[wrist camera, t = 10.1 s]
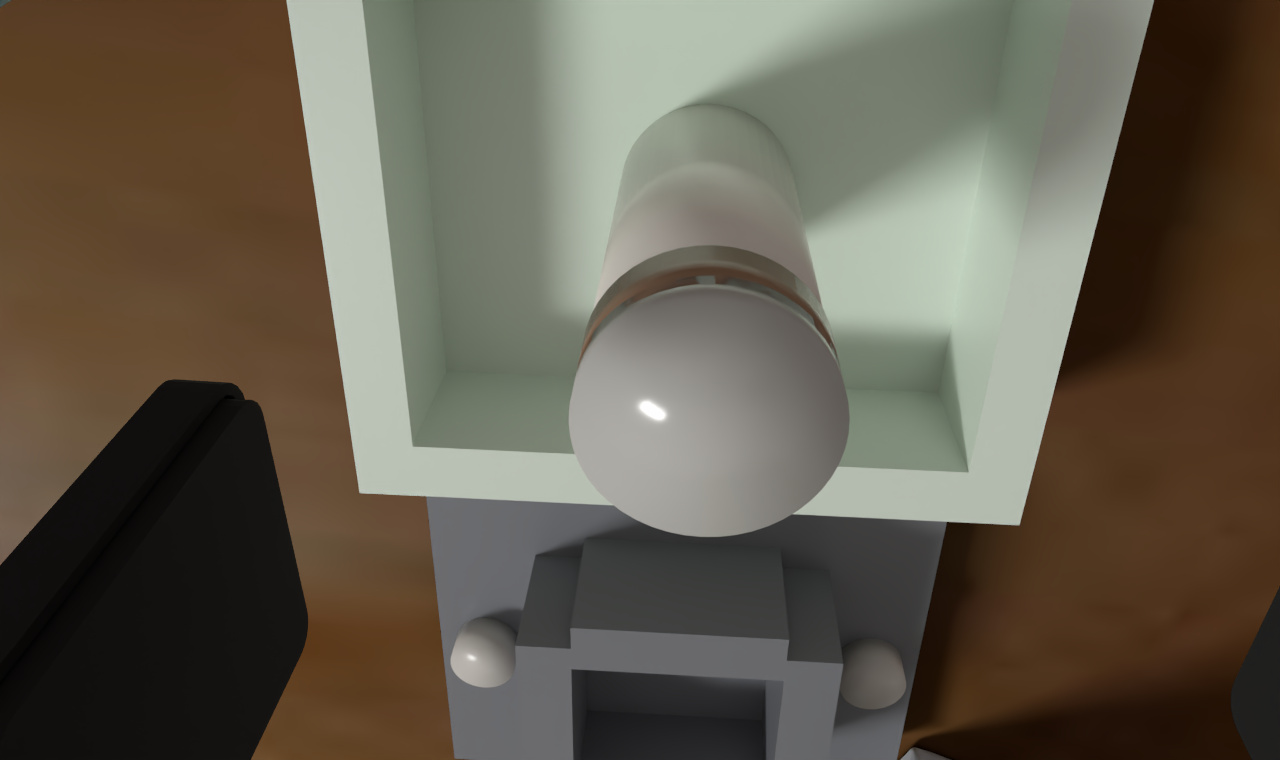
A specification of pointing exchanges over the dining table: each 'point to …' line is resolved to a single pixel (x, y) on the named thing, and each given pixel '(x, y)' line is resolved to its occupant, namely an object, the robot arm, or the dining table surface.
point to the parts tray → (827, 193)
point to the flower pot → (3, 2)
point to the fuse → (708, 337)
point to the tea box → (921, 755)
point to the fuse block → (677, 633)
